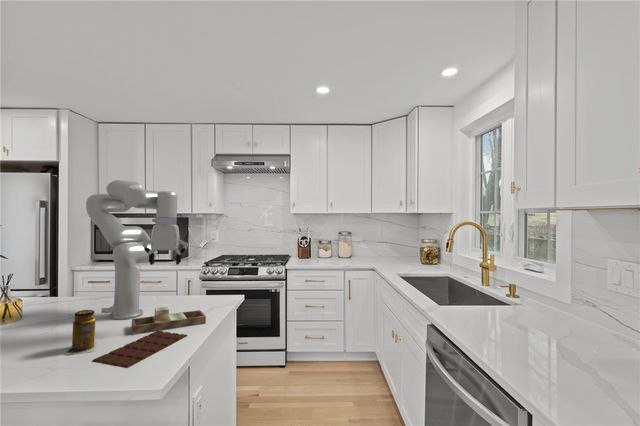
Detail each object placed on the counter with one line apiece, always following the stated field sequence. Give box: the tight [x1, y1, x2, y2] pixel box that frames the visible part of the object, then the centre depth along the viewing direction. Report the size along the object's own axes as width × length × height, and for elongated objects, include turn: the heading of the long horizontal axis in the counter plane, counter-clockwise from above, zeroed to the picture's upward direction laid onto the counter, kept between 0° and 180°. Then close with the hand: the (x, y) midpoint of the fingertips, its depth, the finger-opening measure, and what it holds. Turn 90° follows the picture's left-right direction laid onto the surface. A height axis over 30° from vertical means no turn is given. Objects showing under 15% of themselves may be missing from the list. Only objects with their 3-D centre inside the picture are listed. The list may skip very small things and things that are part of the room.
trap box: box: [131, 309, 207, 335], centre depth 132 cm, size 26×10×3 cm, turn 123°
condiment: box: [65, 309, 98, 355], centre depth 107 cm, size 7×8×12 cm
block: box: [154, 306, 170, 321], centre depth 130 cm, size 4×4×4 cm
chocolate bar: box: [91, 330, 188, 369], centre depth 110 cm, size 27×14×1 cm, turn 165°
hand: (165, 264), depth 132 cm, fingers open, 9 cm apart
